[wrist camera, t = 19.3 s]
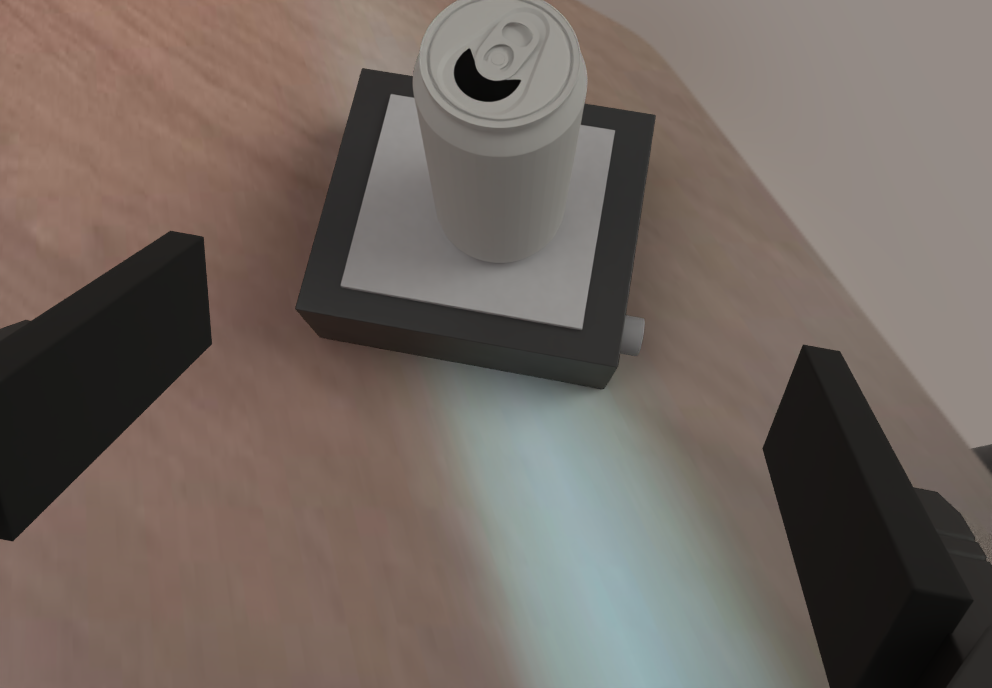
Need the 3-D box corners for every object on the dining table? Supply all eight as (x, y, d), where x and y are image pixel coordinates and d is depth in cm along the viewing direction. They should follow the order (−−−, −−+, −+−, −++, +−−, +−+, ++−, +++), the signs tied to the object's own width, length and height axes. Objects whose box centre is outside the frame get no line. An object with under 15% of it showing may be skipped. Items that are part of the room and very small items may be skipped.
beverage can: (411, 223, 37) (369, 73, 25) (486, 131, 38) (480, -51, 26) (515, 293, 36) (520, 171, 24) (588, 196, 37) (627, 35, 25)
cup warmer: (659, 166, 43) (679, 114, 38) (626, 393, 40) (644, 370, 35) (377, 119, 44) (360, 64, 39) (319, 337, 41) (292, 307, 36)
